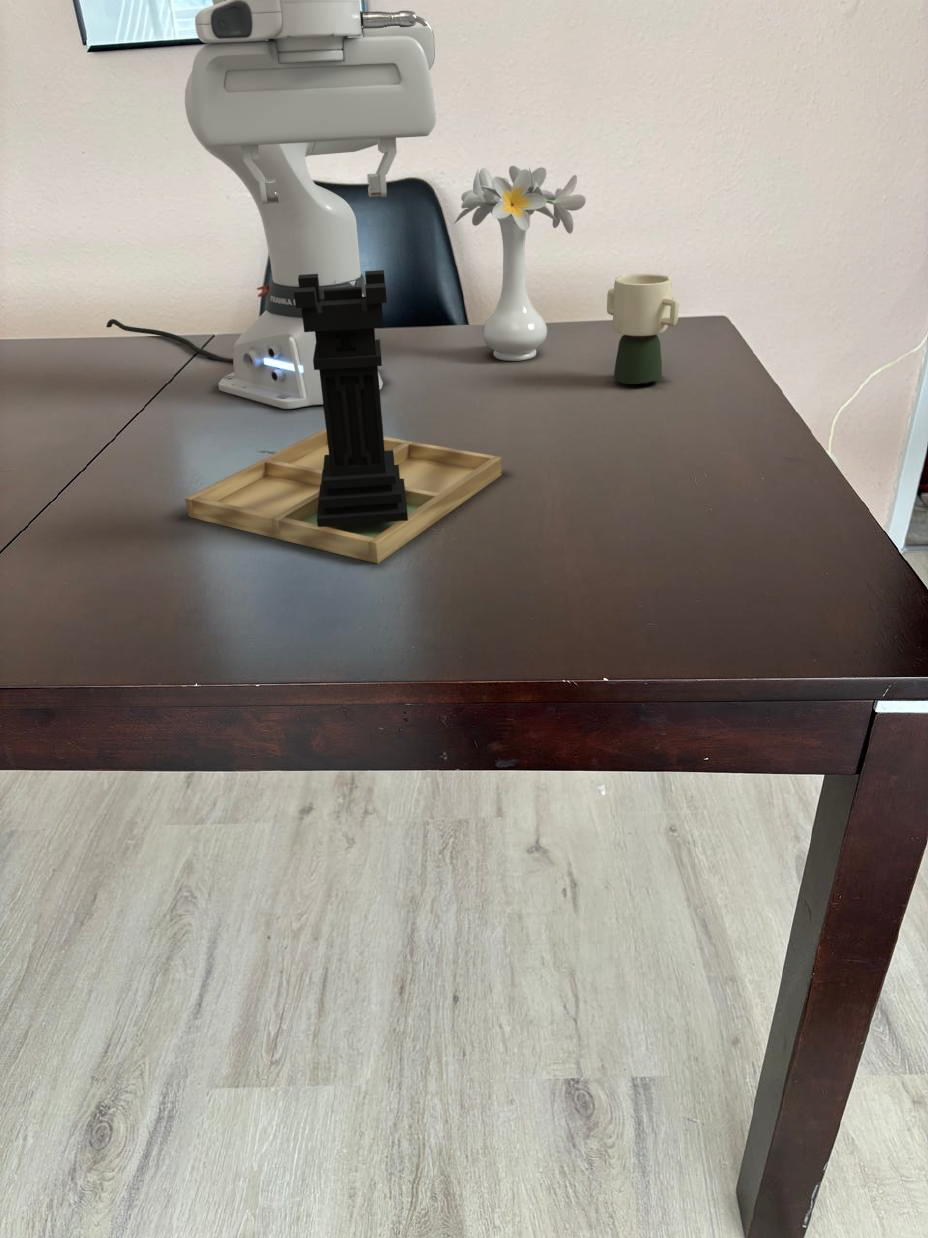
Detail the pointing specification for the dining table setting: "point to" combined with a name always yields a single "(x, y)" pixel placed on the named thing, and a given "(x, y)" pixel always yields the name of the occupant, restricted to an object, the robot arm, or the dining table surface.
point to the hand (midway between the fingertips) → (324, 199)
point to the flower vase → (517, 251)
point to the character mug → (641, 324)
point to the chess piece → (352, 403)
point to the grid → (290, 483)
